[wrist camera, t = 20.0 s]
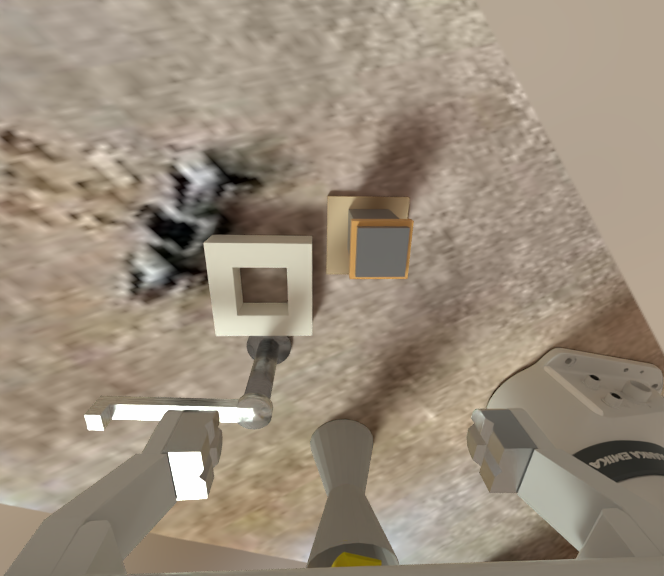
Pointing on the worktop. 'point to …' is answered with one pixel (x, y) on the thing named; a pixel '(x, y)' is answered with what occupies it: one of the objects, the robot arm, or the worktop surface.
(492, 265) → the worktop surface
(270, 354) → the post
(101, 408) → the grey metal bar
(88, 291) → the worktop surface
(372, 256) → the plug
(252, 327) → the socket
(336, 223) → the coaster
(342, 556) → the lava lamp
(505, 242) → the worktop surface
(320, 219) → the worktop surface
